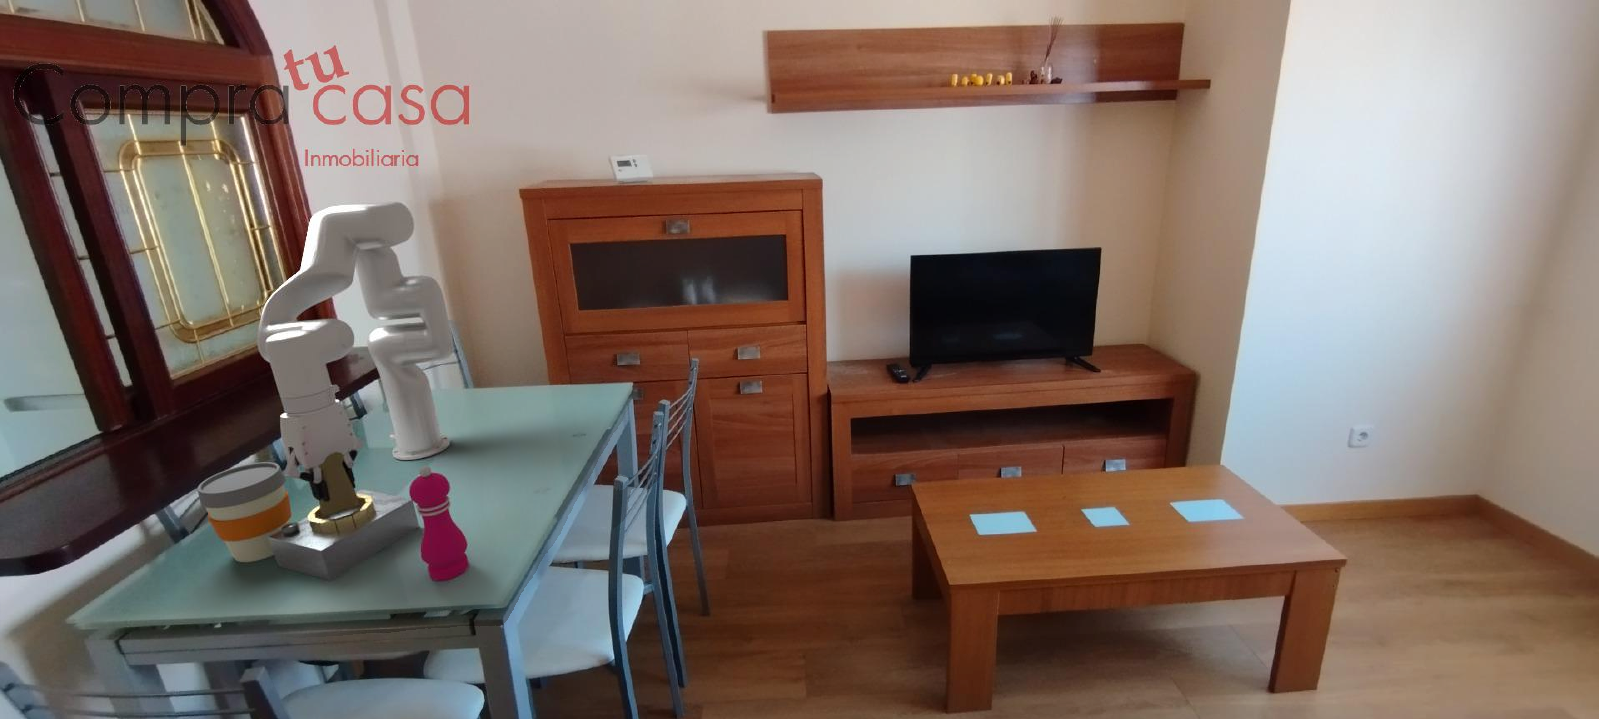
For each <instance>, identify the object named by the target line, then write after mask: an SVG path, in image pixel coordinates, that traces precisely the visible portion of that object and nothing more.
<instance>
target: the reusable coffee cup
mask: <svg viewBox="0 0 1599 719" xmlns="http://www.w3.org/2000/svg"><path fill="white" fill-rule="evenodd" d="M285 483H286V476H284V472H283V471H282V468H281V466H280V465H279V464H278V463H276V462H271V461H268V462H267V461H263V462H253V463H248V464H243V465H240V466H236V467H232V468H228V469H226V470H224V471H223V470H222V471H221V472H218V473H215V474H214V475H212V476H210V477H208V478H206V479H205V480H204V481H203V480H202V482H201V483H200V484H199V485H198V487H197V494H198V500H199V503H200V505H201V507H204V508H205V510H206V512H207V513H208V515H207V519H208V521H209V523H210V525H211V527H212V528H213V530H214V531H215V534H216V535H217V537H218V538H219V540H221V541H223V542H224V543H225V544H226V547H227V548H228V550H229V552H230V553H231V554H230V555H231V556H232V557H233V559H234V560H235V561H237V562H239V563H250V562H256V561H261V560H264V559H267V558H270V557H273V556H275V555H274V552H273V549H272V546H271V543H270V540H269V536H271V535H273V534H275V533H277V532H279V531H281V530H282V527H283V526H285V525H287V524H289V523H291V521H290V519H291V517H292V511H291V503H290V495H289V492H288V491H287V490H286V486H285Z"/></svg>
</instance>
